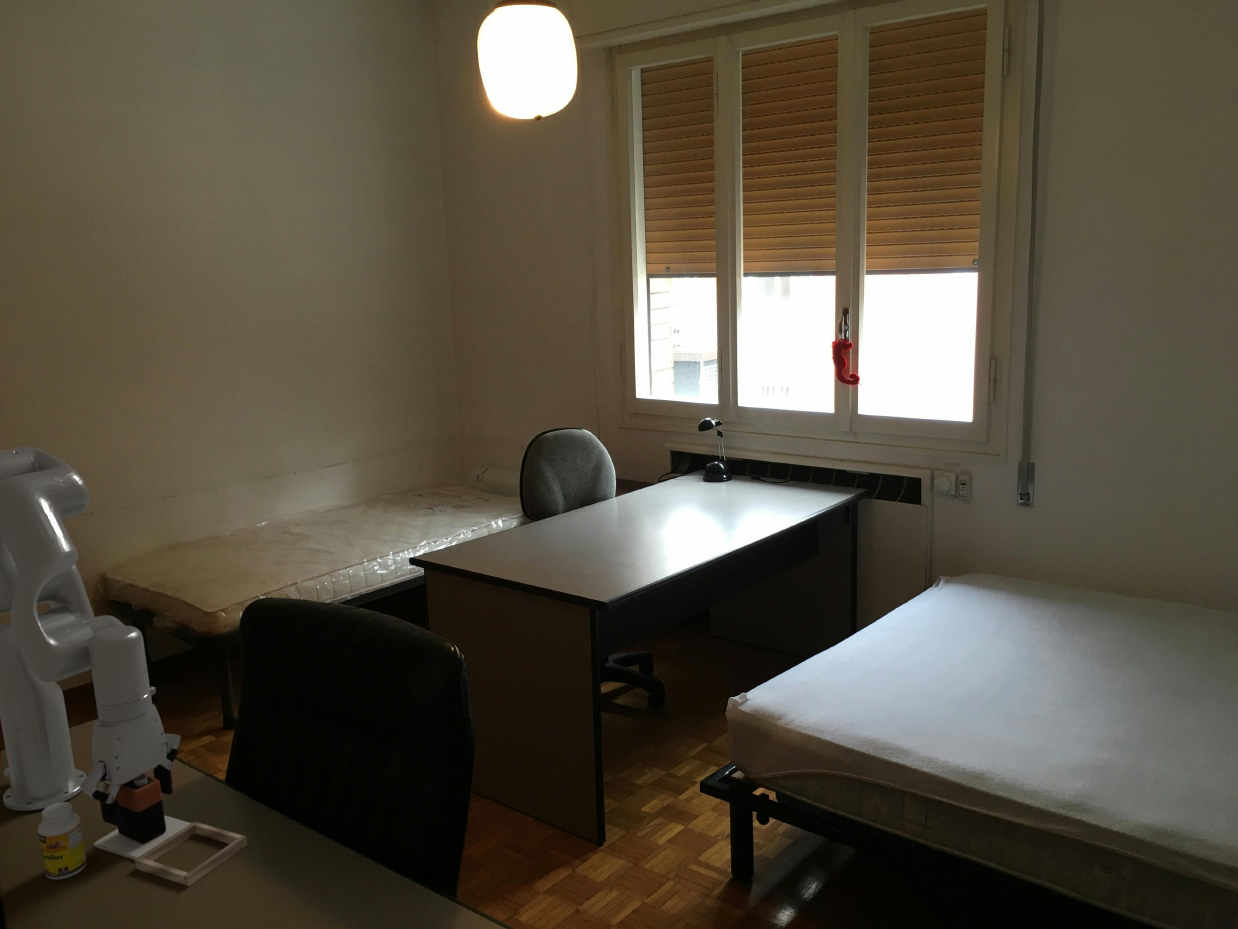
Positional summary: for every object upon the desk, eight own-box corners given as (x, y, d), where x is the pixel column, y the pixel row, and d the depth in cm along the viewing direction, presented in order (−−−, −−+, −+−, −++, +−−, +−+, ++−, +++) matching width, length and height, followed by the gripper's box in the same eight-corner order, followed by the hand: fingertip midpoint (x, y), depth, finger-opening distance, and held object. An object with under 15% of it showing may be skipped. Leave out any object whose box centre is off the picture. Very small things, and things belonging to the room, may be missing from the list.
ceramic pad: (94, 846, 152) (93, 843, 152) (148, 813, 160) (148, 810, 160) (138, 861, 147) (137, 857, 147) (191, 826, 156) (191, 823, 156)
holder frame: (136, 869, 145) (134, 860, 145) (195, 830, 155) (194, 821, 155) (189, 886, 141) (187, 877, 140) (247, 845, 151) (246, 836, 150)
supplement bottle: (36, 878, 144) (26, 816, 142) (67, 857, 149) (57, 796, 147) (65, 884, 142) (55, 821, 140) (96, 862, 147) (86, 801, 145)
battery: (142, 846, 150) (134, 787, 148) (117, 834, 154) (108, 776, 152) (168, 831, 154) (160, 774, 152) (142, 820, 157) (134, 764, 155)
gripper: (155, 681, 159) (168, 776, 162) (56, 726, 143) (73, 831, 147) (188, 687, 156) (200, 785, 159) (90, 735, 140) (106, 842, 144)
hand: (139, 807), depth 153 cm, fingers open, 9 cm apart
